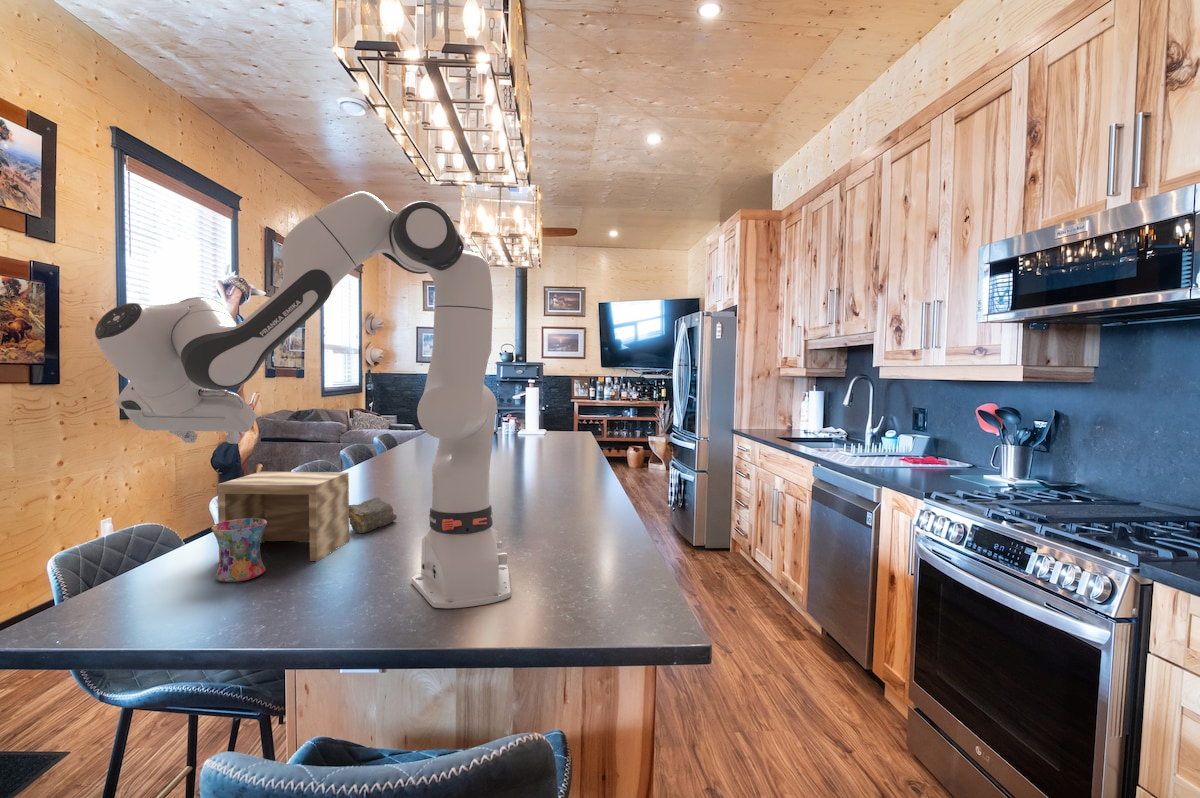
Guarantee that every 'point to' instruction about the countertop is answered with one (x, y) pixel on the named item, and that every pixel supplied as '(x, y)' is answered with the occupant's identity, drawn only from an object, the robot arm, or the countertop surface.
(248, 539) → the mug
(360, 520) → the rock
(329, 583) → the countertop surface
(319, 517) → the shelf unit
